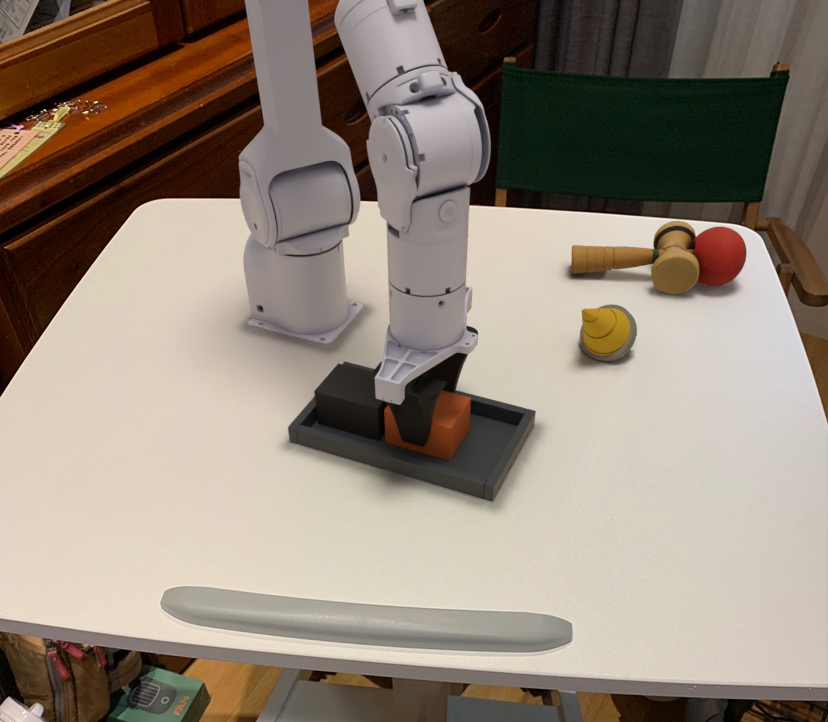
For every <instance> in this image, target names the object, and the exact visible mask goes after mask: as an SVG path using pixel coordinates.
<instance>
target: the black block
mask: <svg viewBox="0 0 828 722" xmlns="http://www.w3.org/2000/svg"><path fill="white" fill-rule="evenodd" d="M372 373H373V372H370V371H366V370H362V369H359V368H355V367H351V366H347V365H343V363H339V362H338V363H337V364H336V365H335V366H334V368H333V369H332V370H331V371H330V372H329V373H328V375H327V376H325V378H324V379H323V380H322V381H321V383H320V384H319V385H318V386H317V387H316V388H315V390H314V393H313V394H314V396H315V402H316V411H317V420H318V424H322V425H325V426H329V427H332V428H336V429H339V430H343V431H346V432H350V433H353V434H357V435H360V436H364V437H367V438H371V439H374V440H378V441H379V440H380V439H381V437H382V436H383V435H384V433H385V416H384V410H385V409H386V407H387V406H388V404H387V402H386V401H383V400H379V399H376V394H375V387H374V386H373V381H372Z"/></svg>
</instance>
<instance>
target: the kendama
mask: <svg viewBox="0 0 828 722" xmlns="http://www.w3.org/2000/svg"><path fill="white" fill-rule="evenodd" d="M652 243H653V248H649V247H637V246H611V245H610V246H609V245H606V246H604V245H577V244H573V245H572V246H571V261H570V262H571V266H570V267H571V270H570V271H571V272H570V273H571V274H572V275H578V274H585V273H595V272H603V271H612V270H615V271H616V270H624V269H633V268H639V267H644V266H649V265H652V267H651V270H650V271H651V281H652V284H653V286H654V288H655V289H656V290H658V291H659V292H662V293H664V294H666V295H679V294H682V293H685V292H688V291H689V290H690V289H691V288H693V287H694V286H695V285H696V284H697V283H699V284H700V285H702V286H706V287H721V286H724V285H727V284H729V283H731V282H733V281H734V280H735V279H736V278H737V277H738V276H739V275H740V273H741V272H742V270H743V269H744V266H745V263H746V260H747V245H746V242H745V240H744V238H743V236H741V234H740V233H739V232H737V231H736V230H735V229H732V228H730V227H727V226H712V227H710V228H706V229H704V230H703V231H701V232H700V233H699V234H697V235H696V231H695V229H694V227H693V226H692V225H691V224H689V223H688V222H686V221H683V220H672V221H669V222H668V221H667V222H666V223H664V224H663V225H661V226H660V227H659V228H658V229H657V230H656V232H655V234H654V237H653V242H652Z"/></svg>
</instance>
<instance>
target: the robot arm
mask: <svg viewBox="0 0 828 722" xmlns="http://www.w3.org/2000/svg"><path fill="white" fill-rule="evenodd" d="M244 4H245V11H246V17H247V18H246V19H247V23H248V30H249V36H250V43H251V50H252V55H253V62H254V68H255V74H256V80H257V86H258V88H257V89H258V93H259V100H260V106H261V107H260V108H261V112H262V119H263V127H262V128H261V130H260V131H259V132H258V133H256V135H255V136H254V138H253V139H252V140H251V141H250V142H249V143H248V144H247V145H246V146H245V148H243V150H242V151H241V152H240V154H239V155H238V171H239V179H240V181H239V182H240V185H239V199H240V200H239V201H240V205H241V210H242V214H243V217H244V221H245V223H246V225H247V228H248V231H249V232H250V235H249V236H248V237H247V239H246V242H245V246H244V250H243V260H242V262H243V263H242V265H243V273H244V278H245V279H244V280H245V284H246V290H247V291H246V292H247V298H248V303H249V307H250V313H251V314H250V315H251V318H250V319H249V320H248V321H247V324H248V325H249V326H251V327H255V328H258V329H263V330H267V331H271V332H275V333H279V334H282V335H286V336H289V337H294V338H299V339H302V340H305V341H310V342H314V343H316V344H317V343H318V344H322V345H331V344H332V343H333V342H334V341H335V340H336V339H337V338H338V337H339V336H340V335H341V333H342V332H343V331H344V330H346V328H347V327H348V326H349V325H350V323H351V322H353V320H354V319H355V318H356V317H357V316H358V315H359V313H360V312H361V311H362V310H363V309H364V304H363V303H359V302H355V301H351V300H348V294H347V281H346V266H345V265H346V264H345V251H344V239H345V238H348V237H350V229H349V226H350V225H351V226H352V225H354V223H356V221H357V219H358V216H359V213H360V211H361V210H360V209H361V192H360V186H359V183H358V179H357V176H356V173H355V170H354V166H353V161H352V154H351V150H350V149H351V148H350V147H349V146H348V144H347V143H346V141H345V139H343V138H342V137H341V136H340V135H338V134H337V133H336V132H334V131H332V130H331V129H329V128H327V127H325V126H324V125H323V122H322V115H321V106H320V105H321V104H320V96H319V88H318V78H317V69H316V62H315V61H316V60H315V51H314V44H313V34H312V26H311V16H310V7H309V0H244ZM333 21H334V25H335V26H334V27H335V28H336V31H337V34H338V36H339V39H340V41H341V45H342V47H343V49H344V52H345V54H346V57H347V61H348V63H349V66H350V68H351V71H352V73H353V76H354V79H355V82H356V85H357V87H358V89H359V93H360V95H361V97H362V101H363V104H364V106H365V109H366V112H367V114H368V117H369V119H370V122H371V125H370V127H369V132H368V139H366V151H367V157H368V162H369V165H370V167H369V168H370V170H371V173H372V176H373V179H374V183H375V187H376V194H377V195H376V196H377V207H378V208H379V214H380V217H381V218H382V219H383V220H385V221H386V249H387V251H386V253H387V274H388V275H387V283H388V284H387V285H388V311H389V312H388V313H389V314H388V316H389V323H388V325H387V329H386V335H385V341H384V347H383V353H382V360H381V361H380V362H379V363H378V365H376V367H375V368H374V369H375V370H374V371H373V373H372V381H373V386H374V387H375V394H376V399H379V400H383V401H386V402H387V404H388V406H389V407H390V409H391V412H392V414H393V416H394V419H395V422H396V425H397V428H398V431H399V434H400V436H401V439H402V441H404V442H407V443H411V444H414V445H418V446H421V447H423V446H424V445H425V444H426V442H427V440H428V438H429V434H430V430H431V424H432V417H433V412H434V408H435V405H436V402H437V399H438V397H439V395H440V393H441V391H442V390H444V391H448V392H451V393H455V391H456V390H457V387H458V383H459V379H460V377H461V373H462V370H463V367H464V364H465V362H466V360H467V359H468V355H469V354H472V352H473V351H474V350H475V348H476V347H477V346H478V345H479V344H478V343H479V331H478V330H477V329H476V328H475V327H473V326H470V325H468V324H467V323H468V313H469V312H470V310H472V307H473V306H472V304H473V287H472V286H468V285H467V269H468V268H467V266H468V247H469V221H470V202H471V201H470V200H471V199H470V198H471V187H469V186H470V185H471V184H475V183H477V182H479V181H480V180H482V179H483V178H484V177H485V175H486V173H487V170H488V168H489V166H490V161H491V151H492V150H491V149H492V148H491V147H492V146H491V142H492V141H491V133H490V127H489V123H488V120H487V117H486V113H485V108H484V106H483V103H482V102H481V100H480V99H479V97H478V95H477V94H476V93H475V92H474V91H473V90H472V89H471V88H469V87H467V86H466V85H465V83H464V82H463V79H462V77H461V75H460V74H458V72H457V71H449V68H448V65H447V64H446V60H445V58H444V55H443V52H442V50H441V47H440V43H439V41H438V38H437V35H436V33H435V30H434V27H433V24H432V22H431V18H430V16H429V13H428V11H427V7H426V5H425V2H424V0H339V1H338V4H337V6H336V9H335V13H334V19H333Z"/></svg>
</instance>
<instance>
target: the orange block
mask: <svg viewBox="0 0 828 722" xmlns="http://www.w3.org/2000/svg"><path fill="white" fill-rule="evenodd" d="M470 407H471V398H470V397H467V396H463V395H459V394H455V393H451V392H448V391H444V390H442V391H441V393H440V395H439V397H438V399H437V402H436V405H435V408H434V412H433V417H432V424H431V430H430V434H429V438H428V440H427V442H426V444H425V445H424V446H423V447H421V446H418V445H414V444H411V443H407V442H404V441H402V439H401V436H400V434H399V431H398V428H397V425H396V422H395V419H394V416H393V414H392V412H391V409H390V407H389V406H387V407H386V409H385V410H384V416H385V441H386V443H389V444H392V445H396V446H399V447H403V448H406V449H410V450H413V451H417V452H420V453H424V454H427V455H431V456H434V457H438V458H441V459H445V460H448V461H450V460H451V458H452V457H453V455H454V453H455V452H456V450H457V449H458V447H459V445H460V444H461V442H462V441H463V439H464V437H465V436H466V434H467V433H468V431H469V424H470Z"/></svg>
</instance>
